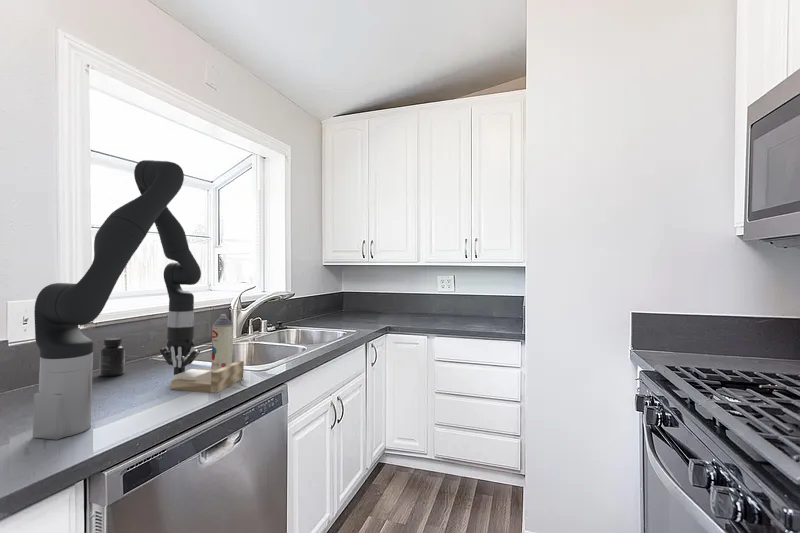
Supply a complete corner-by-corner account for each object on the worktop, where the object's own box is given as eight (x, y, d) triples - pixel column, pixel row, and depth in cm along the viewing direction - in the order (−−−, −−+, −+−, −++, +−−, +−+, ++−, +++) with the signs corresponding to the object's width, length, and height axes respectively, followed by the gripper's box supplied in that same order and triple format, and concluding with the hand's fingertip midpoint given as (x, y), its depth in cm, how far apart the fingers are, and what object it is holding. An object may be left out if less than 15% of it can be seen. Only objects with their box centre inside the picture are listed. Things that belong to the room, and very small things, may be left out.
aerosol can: (209, 368, 146) (211, 313, 145) (230, 366, 149) (231, 313, 149) (212, 373, 140) (214, 316, 140) (233, 371, 144) (235, 315, 143)
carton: (194, 390, 123) (194, 376, 123) (173, 388, 124) (173, 375, 124) (210, 382, 131) (211, 370, 131) (191, 381, 132) (191, 369, 132)
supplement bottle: (128, 374, 136) (129, 338, 136) (104, 378, 130) (105, 341, 130) (118, 370, 140) (119, 336, 140) (95, 374, 134) (96, 338, 134)
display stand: (216, 392, 119) (217, 372, 119) (170, 389, 122) (171, 369, 122) (243, 378, 134) (243, 361, 134) (201, 375, 136) (202, 358, 136)
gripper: (153, 325, 126) (151, 380, 126) (192, 327, 125) (190, 383, 125) (170, 322, 134) (168, 373, 134) (206, 324, 132) (205, 376, 132)
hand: (179, 378), depth 129 cm, fingers closed
